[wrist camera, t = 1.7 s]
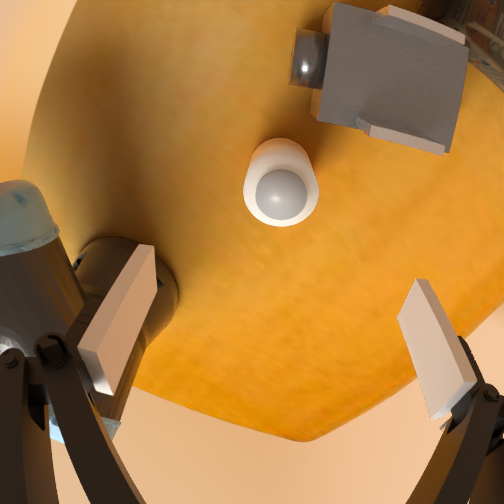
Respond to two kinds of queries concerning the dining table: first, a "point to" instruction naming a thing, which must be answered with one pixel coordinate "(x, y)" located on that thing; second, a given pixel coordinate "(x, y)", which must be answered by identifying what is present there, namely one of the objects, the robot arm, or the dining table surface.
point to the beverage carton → (475, 30)
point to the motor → (383, 74)
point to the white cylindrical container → (280, 183)
